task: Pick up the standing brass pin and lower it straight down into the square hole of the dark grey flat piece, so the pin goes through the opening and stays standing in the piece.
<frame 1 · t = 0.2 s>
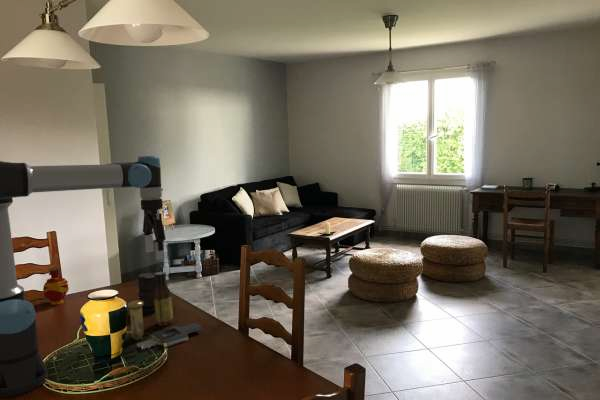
hand: (154, 255, 172), 27 cm above the table, fingers open, 13 cm apart
dark grey flat piece: (170, 339, 163), on the table
potion bottle: (57, 303, 203), on the table
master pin: (138, 338, 165), on the table
camera lens: (150, 311, 191), on the table
sauce bottle: (164, 324, 177), on the table
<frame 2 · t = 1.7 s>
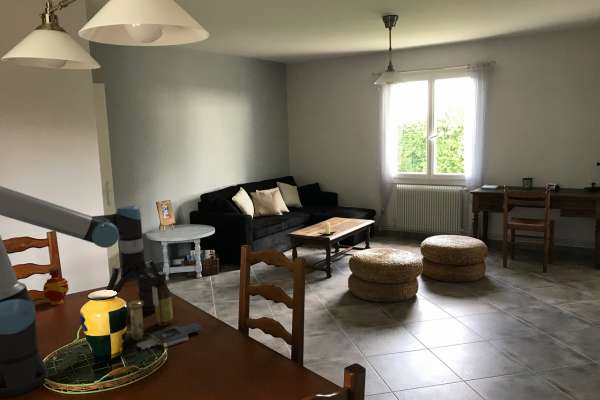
hand: (137, 309, 163), 10 cm above the table, fingers open, 13 cm apart
nothing on the table moved.
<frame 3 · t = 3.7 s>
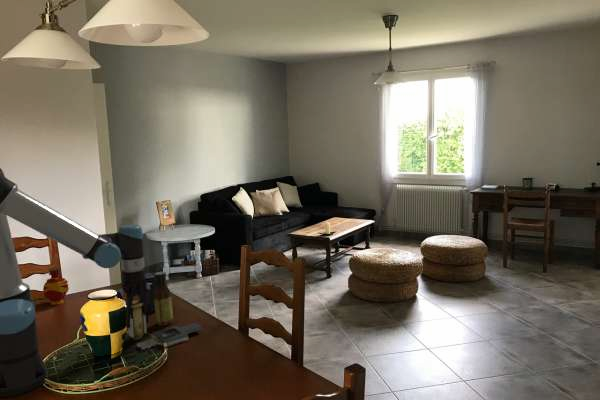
hand: (137, 333, 164), 2 cm above the table, fingers closed on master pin, 4 cm apart
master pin: (138, 338, 165), on the table, touching gripper
everything else where it was.
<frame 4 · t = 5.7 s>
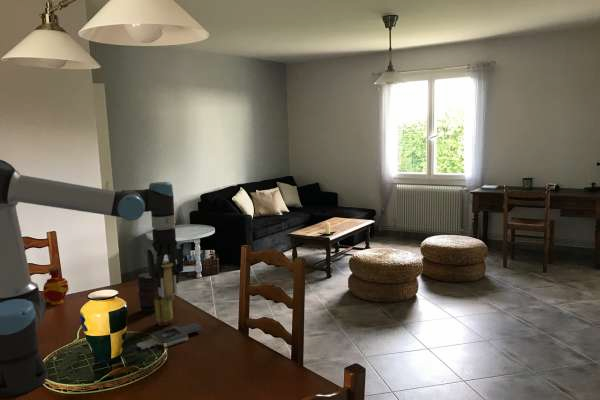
hand: (167, 294, 161), 16 cm above the table, fingers closed on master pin, 4 cm apart
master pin: (168, 299, 161), point 15 cm above the table, touching gripper
everything else where it was.
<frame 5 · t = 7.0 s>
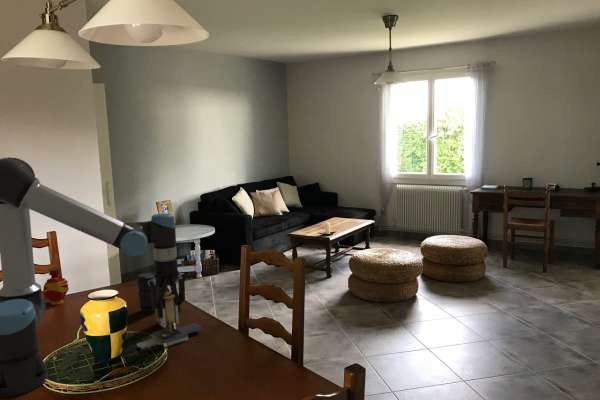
hand: (169, 324, 162), 6 cm above the table, fingers closed on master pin, 4 cm apart
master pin: (170, 330, 163), point 3 cm above the table, touching gripper
everything else where it was.
when the fingers open (4 cm above the table, at t = 8.2 s): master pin drops 1 cm, resting in dark grey flat piece.
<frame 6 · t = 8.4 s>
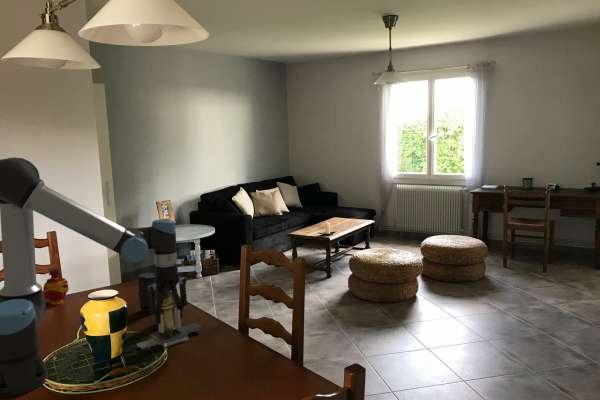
hand: (169, 329, 162), 4 cm above the table, fingers open, 5 cm apart
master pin: (170, 339, 163), resting in dark grey flat piece, touching gripper
everything else where it was.
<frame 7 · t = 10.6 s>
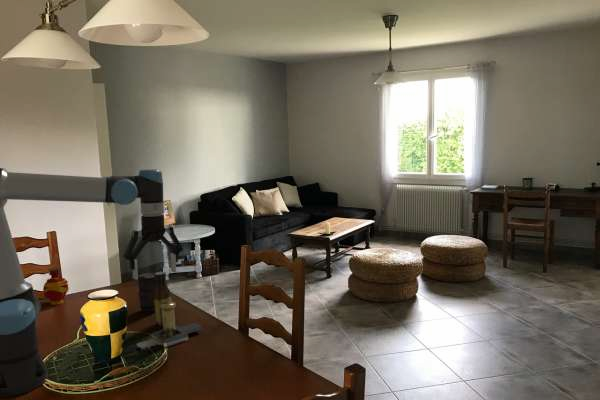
hand: (154, 275, 162), 23 cm above the table, fingers open, 13 cm apart
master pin: (170, 339, 163), resting in dark grey flat piece
everything else where it was.
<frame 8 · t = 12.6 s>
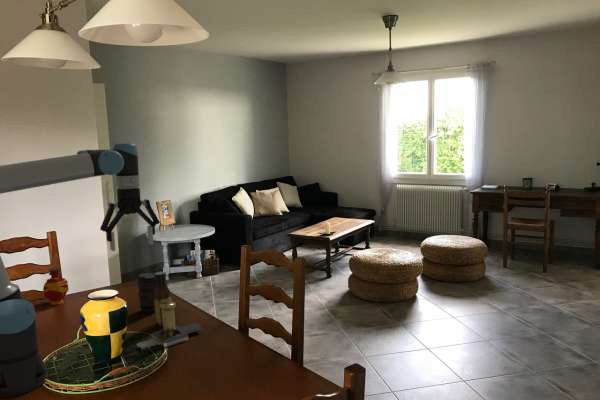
hand: (132, 247, 166), 32 cm above the table, fingers open, 13 cm apart
nothing on the table moved.
at the end: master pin 0.2 cm off-centre on the dark grey flat piece, point 0.0 cm above the dark grey flat piece's base; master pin tilted 0°; the gripper is holding nothing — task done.
